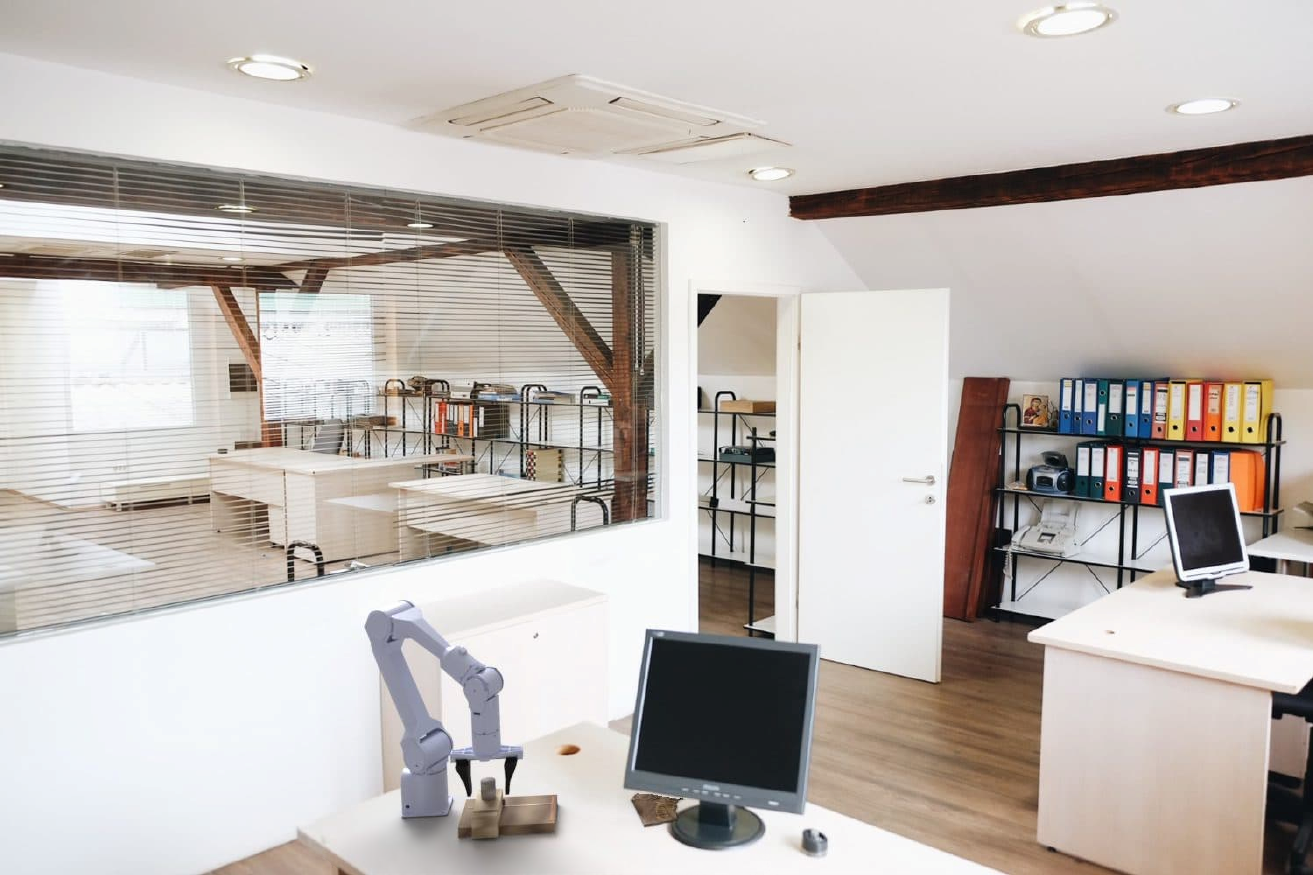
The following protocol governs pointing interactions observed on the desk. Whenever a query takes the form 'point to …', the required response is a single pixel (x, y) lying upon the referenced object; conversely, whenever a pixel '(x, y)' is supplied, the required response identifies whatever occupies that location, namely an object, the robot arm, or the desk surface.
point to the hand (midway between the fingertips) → (488, 793)
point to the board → (517, 816)
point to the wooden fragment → (655, 808)
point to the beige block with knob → (487, 810)
